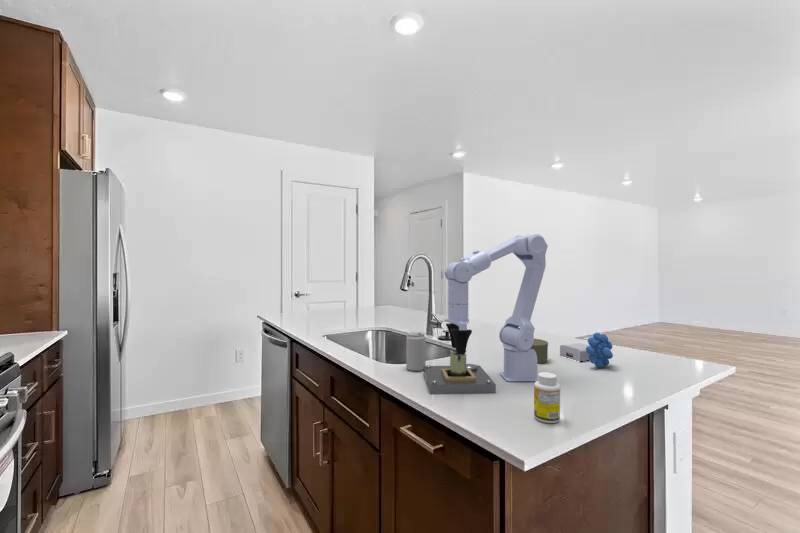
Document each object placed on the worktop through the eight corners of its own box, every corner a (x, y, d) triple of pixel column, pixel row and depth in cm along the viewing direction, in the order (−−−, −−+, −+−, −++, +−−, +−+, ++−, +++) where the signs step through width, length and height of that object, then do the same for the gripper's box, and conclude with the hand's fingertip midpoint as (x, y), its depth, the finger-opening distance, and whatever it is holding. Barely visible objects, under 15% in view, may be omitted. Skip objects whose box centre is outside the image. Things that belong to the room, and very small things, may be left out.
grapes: (598, 373, 123) (598, 336, 122) (580, 367, 129) (581, 332, 129) (623, 369, 127) (623, 333, 127) (604, 363, 134) (605, 329, 133)
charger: (609, 358, 141) (580, 363, 135) (588, 353, 150) (559, 356, 144) (610, 345, 141) (580, 349, 135) (588, 340, 150) (559, 344, 144)
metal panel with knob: (479, 373, 123) (479, 362, 123) (495, 393, 105) (495, 380, 105) (423, 373, 122) (423, 362, 122) (429, 393, 104) (429, 381, 104)
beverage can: (424, 372, 123) (424, 335, 123) (404, 371, 125) (404, 334, 124) (426, 367, 130) (426, 331, 129) (408, 366, 131) (408, 331, 131)
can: (548, 366, 131) (548, 346, 131) (511, 363, 135) (511, 343, 135) (548, 357, 142) (548, 339, 142) (514, 355, 146) (514, 337, 146)
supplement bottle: (539, 412, 92) (539, 369, 92) (563, 418, 88) (563, 374, 88) (530, 419, 88) (530, 375, 87) (555, 426, 84) (555, 380, 84)
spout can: (464, 382, 114) (465, 348, 113) (467, 387, 109) (467, 351, 109) (448, 382, 114) (449, 347, 114) (450, 387, 109) (450, 351, 109)
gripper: (441, 301, 118) (440, 345, 118) (448, 307, 104) (448, 357, 104) (463, 300, 118) (463, 344, 119) (474, 307, 104) (474, 357, 104)
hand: (458, 350), depth 111 cm, fingers open, 7 cm apart
